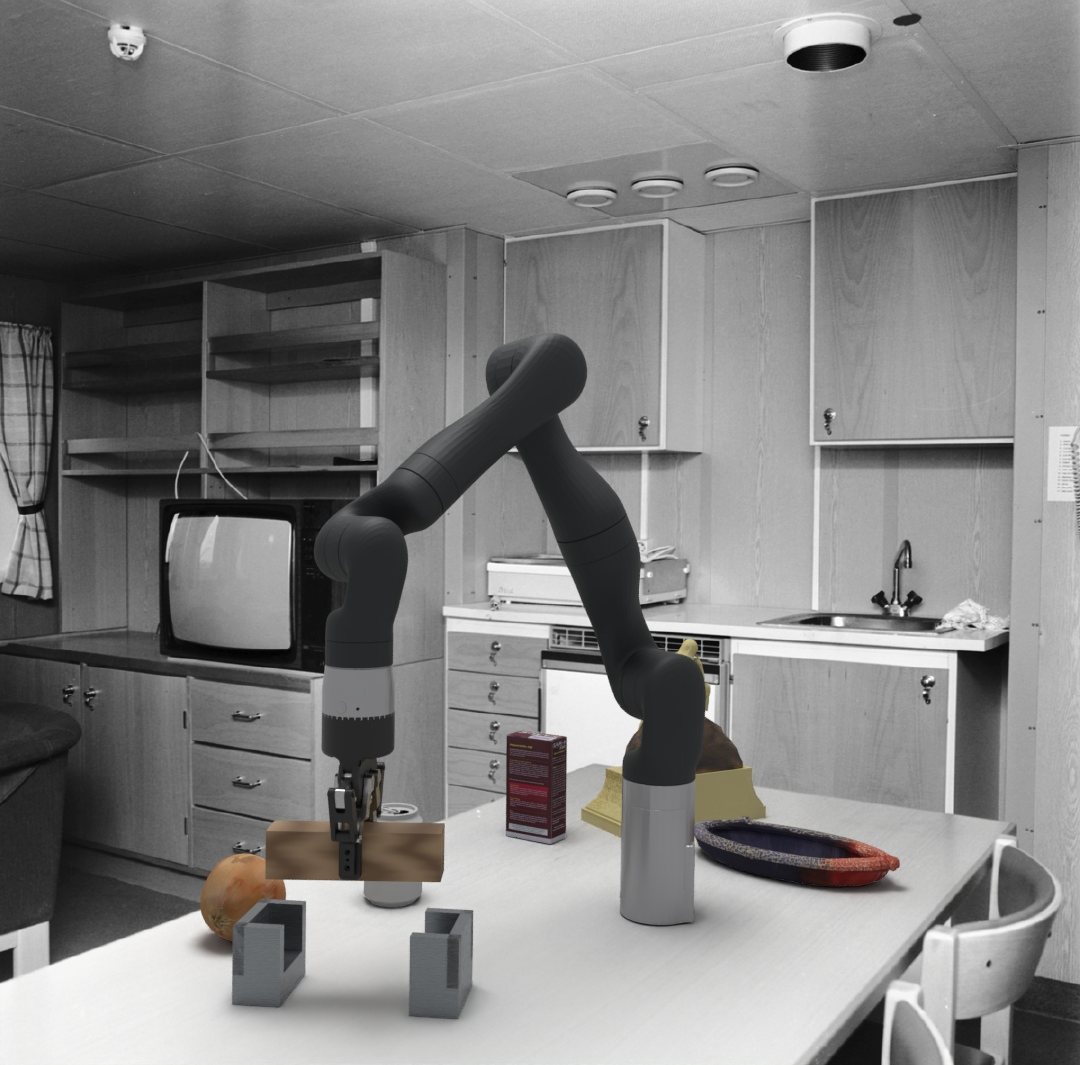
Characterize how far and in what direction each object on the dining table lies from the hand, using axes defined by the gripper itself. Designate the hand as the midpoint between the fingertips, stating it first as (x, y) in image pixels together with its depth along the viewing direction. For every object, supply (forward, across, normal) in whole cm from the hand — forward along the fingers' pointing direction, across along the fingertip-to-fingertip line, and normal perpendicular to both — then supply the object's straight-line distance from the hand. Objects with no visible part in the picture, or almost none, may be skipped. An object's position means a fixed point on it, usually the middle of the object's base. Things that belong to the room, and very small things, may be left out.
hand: (356, 870), depth 121 cm
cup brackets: (+13, 0, 0) cm, 13 cm away
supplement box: (+13, +60, -12) cm, 63 cm away
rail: (0, 0, 0) cm, 0 cm away
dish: (+13, +50, -50) cm, 72 cm away
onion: (+13, +13, +17) cm, 25 cm away
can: (+13, +29, +3) cm, 32 cm away
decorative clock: (+13, +74, -33) cm, 82 cm away
